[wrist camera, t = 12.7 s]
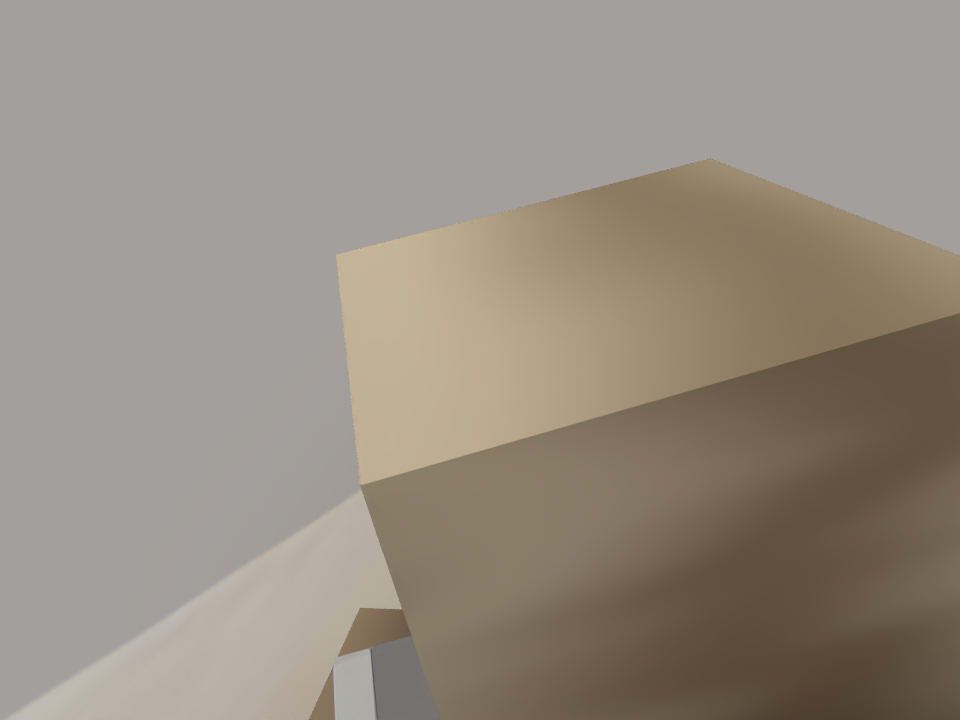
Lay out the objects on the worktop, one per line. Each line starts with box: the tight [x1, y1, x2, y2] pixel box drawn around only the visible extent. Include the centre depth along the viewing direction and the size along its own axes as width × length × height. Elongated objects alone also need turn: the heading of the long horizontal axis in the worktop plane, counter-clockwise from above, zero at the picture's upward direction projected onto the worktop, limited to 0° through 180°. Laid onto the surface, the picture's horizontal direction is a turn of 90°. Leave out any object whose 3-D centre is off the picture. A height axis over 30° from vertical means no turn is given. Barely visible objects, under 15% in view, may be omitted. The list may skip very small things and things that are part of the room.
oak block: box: [336, 159, 960, 720], centre depth 10 cm, size 5×5×12 cm
